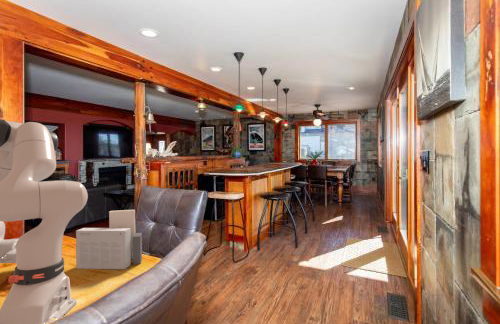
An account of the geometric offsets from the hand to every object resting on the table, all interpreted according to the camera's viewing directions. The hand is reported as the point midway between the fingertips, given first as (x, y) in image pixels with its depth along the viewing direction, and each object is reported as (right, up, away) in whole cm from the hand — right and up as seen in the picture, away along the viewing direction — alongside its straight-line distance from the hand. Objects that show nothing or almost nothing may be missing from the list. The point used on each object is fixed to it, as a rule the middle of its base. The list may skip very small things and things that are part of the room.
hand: (53, 247), depth 112 cm
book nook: (+26, -9, +8) cm, 28 cm away
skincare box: (+19, -9, +3) cm, 21 cm away
